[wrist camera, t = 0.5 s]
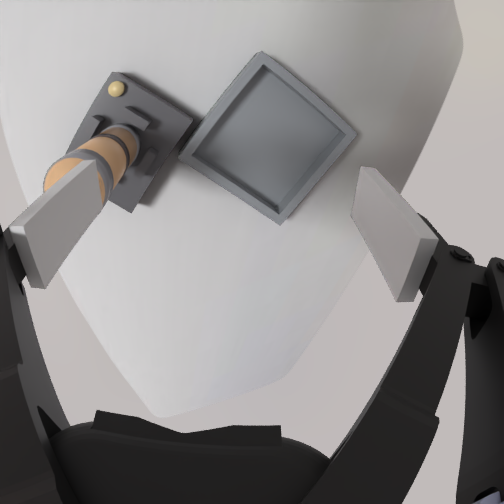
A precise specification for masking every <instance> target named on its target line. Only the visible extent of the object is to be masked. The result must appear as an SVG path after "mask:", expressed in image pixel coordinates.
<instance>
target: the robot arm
mask: <svg viewBox="0 0 504 504" xmlns="http://www.w3.org/2000/svg"><path fill="white" fill-rule="evenodd" d="M102 209H103V205H102V199H101V193H100V187H99V180H98V173H97V166H96V160H83V161H82V162H80V163H79V164H78V165H77V166H75V167H74V168H73V169H72V170H70V171H69V172H68V173H67V174H65V175H64V176H63V177H62V178H61V179H59V180H58V181H57V182H56V183H55V184H54V185H52V186H51V187H50V188H49V189H48V190H47V191H45V192H44V193H43V194H42V195H41V196H40V197H39V198H38V199H37V200H35V201H34V202H33V203H32V204H31V205H30V206H29V207H28V208H27V209H26V210H25V211H24V212H23V213H22V214H21V215H20V216H18V217H17V218H16V219H15V220H14V221H13V222H12V223H11V224H10V225H9V227H8V228H7V229H6V230H5V231H4V232H3V231H2V228H1V225H0V504H402V502H403V501H404V499H405V497H406V495H407V493H408V491H409V489H410V487H411V486H412V484H413V482H414V480H415V478H416V476H417V474H418V472H419V470H420V468H421V466H422V463H423V461H424V459H425V457H426V455H427V452H428V450H429V448H430V446H431V443H432V441H433V438H434V436H435V433H436V431H437V428H438V424H439V417H436V416H435V413H436V410H437V407H438V404H439V402H440V399H441V396H442V393H443V391H444V388H445V385H446V382H447V379H448V376H449V372H450V369H451V366H452V363H453V360H454V356H455V353H456V349H457V346H458V342H459V338H460V334H461V330H462V326H463V322H464V337H465V359H466V400H465V420H464V435H463V445H462V454H461V462H460V470H459V476H458V484H457V492H456V504H504V260H503V259H500V258H497V257H495V258H491V260H490V261H489V264H488V266H487V268H486V267H483V266H479V265H476V264H475V262H474V258H473V257H472V255H471V254H469V253H468V252H467V251H465V250H464V249H462V248H460V247H457V246H454V245H448V244H447V242H446V241H445V240H444V239H443V237H442V236H441V235H440V234H439V233H438V232H437V230H436V229H435V228H434V227H432V224H431V223H430V222H429V221H428V220H427V219H426V218H424V217H423V216H422V215H420V214H419V213H416V212H415V211H414V209H413V208H412V207H411V206H410V205H409V204H408V203H407V202H406V200H405V199H404V198H403V197H402V196H401V195H400V194H399V193H398V192H397V191H396V190H395V188H394V187H393V186H392V185H391V184H390V183H389V182H388V181H387V180H386V179H385V178H384V177H383V176H382V175H381V174H380V173H379V172H378V171H377V170H376V169H375V168H372V167H364V166H360V172H359V177H358V182H357V188H356V193H355V198H354V202H353V207H352V212H351V217H352V218H353V220H354V222H355V224H356V225H357V227H358V229H359V231H360V233H361V234H362V236H363V238H364V240H365V242H366V244H367V246H368V247H369V249H370V251H371V253H372V255H373V257H374V259H375V261H376V262H377V264H378V266H379V268H380V270H381V272H382V274H383V276H384V278H385V280H386V282H387V284H388V286H389V288H390V290H391V292H392V294H393V296H394V299H395V301H396V302H413V301H414V299H415V297H416V295H417V292H418V290H419V289H420V291H421V293H422V295H423V298H422V300H421V302H420V304H419V306H418V309H417V310H416V313H415V315H414V317H413V320H412V322H411V324H410V326H409V328H408V330H407V332H406V334H405V336H404V338H403V340H402V342H401V344H400V346H399V348H398V350H397V352H396V354H395V356H394V357H393V360H392V361H391V363H390V365H389V367H388V369H387V370H386V372H385V374H384V376H383V378H382V379H381V381H380V383H379V385H378V386H377V388H376V390H375V391H374V393H373V395H372V397H371V398H370V400H369V401H368V403H367V405H366V406H365V408H364V409H363V411H362V413H361V414H360V416H359V417H358V419H357V420H356V422H355V423H354V425H353V426H352V428H351V429H350V431H349V433H348V434H347V435H346V437H345V438H344V440H343V441H342V443H341V444H340V445H339V447H338V448H337V449H336V451H335V452H334V453H333V455H332V456H331V457H330V459H329V458H328V457H327V456H325V455H324V454H322V453H321V452H320V451H318V450H316V449H314V448H312V447H311V446H309V445H306V444H304V443H302V442H299V441H296V440H293V439H289V438H284V437H281V426H280V425H275V426H242V425H233V426H227V427H222V428H216V429H210V430H204V431H198V432H191V433H180V432H176V431H173V430H171V429H168V428H165V427H162V426H160V425H157V424H154V423H151V422H149V421H146V420H144V419H141V418H139V417H134V416H128V415H121V414H116V413H110V412H105V411H100V410H97V411H96V414H95V418H94V422H87V423H81V424H77V425H74V426H70V424H69V422H68V421H67V419H66V416H65V414H64V412H63V409H62V407H61V405H60V402H59V400H58V398H57V395H56V392H55V390H54V387H53V384H52V382H51V379H50V376H49V373H48V370H47V368H46V365H45V362H44V359H43V355H42V352H41V350H40V346H39V343H38V339H37V336H36V332H35V329H34V326H33V322H32V318H31V314H30V310H29V305H28V301H27V297H26V293H25V288H24V286H23V284H22V280H23V279H24V277H25V276H27V279H28V281H29V283H30V286H31V287H32V288H41V289H46V287H47V286H48V284H49V283H50V281H51V280H52V278H53V277H54V275H55V274H56V272H57V271H58V269H59V268H60V266H61V265H62V263H63V262H64V260H65V259H66V257H67V256H68V254H69V253H70V252H71V250H72V249H73V247H74V246H75V245H76V243H77V242H78V240H79V239H80V238H81V236H82V235H83V234H84V232H85V231H86V230H87V228H88V227H89V226H90V224H91V223H92V222H93V220H94V219H95V218H96V216H97V215H98V214H99V213H100V211H101V210H102Z"/></svg>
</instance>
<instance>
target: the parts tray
mask: <svg viewBox="0 0 504 504" xmlns="http://www.w3.org/2000/svg"><path fill="white" fill-rule="evenodd" d="M356 136H357V133H356V132H355V131H354V130H353V129H352V128H351V127H350V126H349V125H348V124H347V123H346V122H345V121H344V120H343V119H342V118H341V117H340V116H338V115H337V114H336V113H335V112H334V111H333V110H332V109H331V108H330V107H329V106H328V105H327V104H326V103H324V102H323V101H322V100H321V99H320V98H319V97H318V96H317V95H315V94H314V93H313V92H312V91H311V90H310V89H309V88H307V87H306V86H305V85H304V84H303V83H302V82H300V81H299V80H298V79H297V78H296V77H294V76H293V75H292V74H291V73H289V72H288V71H287V70H286V69H285V68H283V67H282V66H281V65H280V64H278V63H277V62H276V61H274V60H273V59H272V58H271V57H269V56H268V55H267V54H265V53H264V52H263V51H260V52H258V53H256V54H255V55H254V57H253V58H252V59H251V60H250V61H249V62H248V64H247V65H246V66H245V67H244V68H243V70H242V71H241V72H240V73H239V74H238V76H237V77H236V78H235V79H234V80H233V82H232V83H231V84H230V85H229V87H228V88H227V89H226V90H225V92H224V93H223V94H222V95H221V97H220V98H219V99H218V100H217V102H216V103H215V104H214V106H213V107H212V108H211V109H210V111H209V112H208V113H207V115H206V116H205V117H204V119H203V120H202V121H201V123H200V124H199V125H198V127H197V128H196V129H195V131H194V132H193V134H192V135H191V136H190V138H189V139H188V140H187V142H186V143H185V145H184V146H183V148H182V149H181V150H180V152H179V156H178V159H180V160H181V161H183V162H184V163H186V164H187V165H189V166H191V167H192V168H194V169H195V170H197V171H198V172H200V173H201V174H203V175H205V176H206V177H208V178H209V179H211V180H212V181H214V182H215V183H217V184H218V185H220V186H221V187H223V188H224V189H226V190H227V191H229V192H231V193H232V194H234V195H235V196H237V197H238V198H240V199H241V200H243V201H244V202H246V203H247V204H249V205H250V206H252V207H253V208H255V209H256V210H258V211H259V212H261V213H262V214H264V215H265V216H266V217H268V218H269V219H271V220H272V221H274V222H275V223H277V224H278V225H281V224H282V223H283V222H284V221H285V220H286V218H287V217H288V216H289V215H290V214H291V212H292V211H293V210H294V209H295V208H296V207H297V205H298V204H299V203H300V202H301V201H302V199H303V198H304V197H305V196H306V195H307V194H308V192H309V191H310V190H311V189H312V188H313V186H314V185H315V184H316V183H317V182H318V181H319V179H320V178H321V177H322V176H323V175H324V173H325V172H326V171H327V170H328V169H329V168H330V166H331V165H332V164H333V163H334V162H335V160H336V159H337V158H338V157H339V156H340V155H341V153H342V152H343V151H344V150H345V149H346V147H347V146H348V145H349V144H350V143H351V141H352V140H353V139H354V138H355V137H356Z"/></svg>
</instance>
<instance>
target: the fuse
mask: <svg viewBox="0 0 504 504" xmlns="http://www.w3.org/2000/svg"><path fill="white" fill-rule="evenodd" d="M140 150H141V138H140V135H139V133H138V132H137V131H136V129H135V128H133V127H132V126H130V125H128V124H125V123H117V124H114V125H111V126H109V127H108V128H106V129H105V130H103V131H102V132H101V133H100V134H98V135H96V136H94V137H93V138H91V139H89V140H88V141H87V142H86V143H84V144H83V145H81V146H80V147H78V148H77V149H75V150H73V151H71V152H69V153H67V154H66V155H64V156H63V157H61V158H60V159H59V160H57V161H56V162H55V163H53V164H52V165H51V167H50V168H49V169H48V171H47V173H46V175H45V178H44V183H43V192H45V191H47V190H48V189H49V188H50V187H51V186H52V185H54V184H55V183H56V182H57V181H58V180H59V179H61V178H62V177H63V176H64V175H65V174H67V173H68V172H69V171H70V170H72V169H73V168H74V167H75V166H77V165H78V164H79V163H80V162H82V161H83V160H96V166H97V173H98V180H99V187H100V193H101V199H102V205H103V207H104V206H105V204H106V202H107V201H108V199H109V198H110V196H111V194H112V191H113V189H114V188H115V186H116V185H117V183H118V182H119V181H120V180H121V178H122V177H123V176H124V174H125V173H126V171H127V169H128V167H129V166H131V165H132V163H133V162H134V161H135V159H136V158H137V157H138V155H139V153H140ZM100 212H101V211H100Z"/></svg>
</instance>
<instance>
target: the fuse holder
mask: <svg viewBox="0 0 504 504" xmlns="http://www.w3.org/2000/svg"><path fill="white" fill-rule="evenodd" d="M192 120H193V118H192V117H190V116H189V115H187V114H186V113H184V112H183V111H181V110H180V109H178V108H176V107H175V106H173V105H172V104H170V103H169V102H167V101H165V100H164V99H162V98H161V97H159V96H157V95H156V94H154V93H153V92H151V91H149V90H148V89H146V88H145V87H143V86H141V85H140V84H138V83H136V82H135V81H133V80H131V79H130V78H128V77H126V76H125V75H123V74H121V73H119V72H112V73H111V75H110V76H109V78H108V79H107V81H106V82H105V84H104V85H103V87H102V89H101V90H100V92H99V94H98V95H97V97H96V98H95V100H94V102H93V104H92V105H91V107H90V109H89V110H88V112H87V114H86V116H85V118H84V119H83V121H82V123H81V125H80V127H79V129H78V130H77V132H76V134H75V136H74V138H73V140H72V142H71V144H70V146H69V148H68V150H67V152H66V154H67V153H69V152H71V151H73V150H75V149H77V148H78V147H80V146H81V145H83V144H84V143H86V142H87V141H88V140H89V139H91V138H93V137H94V136H96V135H98V134H100V133H101V132H102V131H103V130H105V129H106V128H108V127H109V126H111V125H114V124H117V123H125V124H128V125H130V126H132V127H133V128H135V129H136V131H137V132H138V133H139V135H140V138H141V150H140V153H139V155H138V157H137V158H136V159H135V161H134V162H133V163H132V165H131V166H129V167H128V169H127V171H126V173H125V174H124V176H123V177H122V178H121V180H120V181H119V182H118V183H117V185H116V186H115V188H114V189H113V191H112V194H111V196H110V198H109V199H108V200H109V201H111V202H113V203H115V204H116V205H118V206H120V207H121V208H123V209H125V210H126V211H128V212H130V213H132V212H133V210H134V208H135V207H136V205H137V203H138V202H139V200H140V199H141V197H142V195H143V194H144V192H145V191H146V189H147V187H148V186H149V184H150V183H151V181H152V180H153V178H154V176H155V175H156V173H157V172H158V170H159V169H160V167H161V166H162V164H163V163H164V161H165V160H166V158H167V157H168V155H169V154H170V152H171V151H172V150H173V148H174V147H175V145H176V144H177V142H178V141H179V139H180V138H181V137H182V135H183V134H184V132H185V131H186V130H187V128H188V127H189V125H190V124H191V123H192ZM66 154H65V155H66Z"/></svg>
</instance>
